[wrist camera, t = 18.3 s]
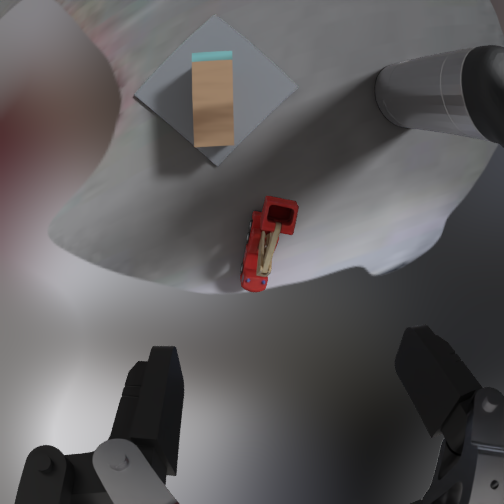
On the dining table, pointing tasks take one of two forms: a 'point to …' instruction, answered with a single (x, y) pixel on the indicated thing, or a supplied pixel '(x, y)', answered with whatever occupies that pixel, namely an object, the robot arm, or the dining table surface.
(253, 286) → the toy fire truck
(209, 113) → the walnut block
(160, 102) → the grey mat
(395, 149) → the dining table surface
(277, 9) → the dining table surface
